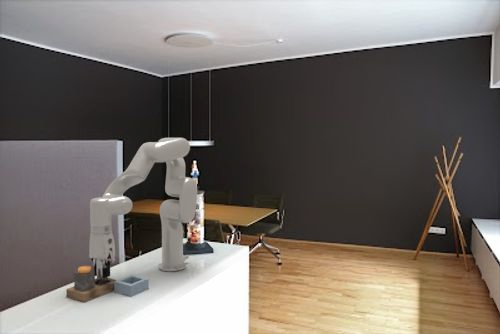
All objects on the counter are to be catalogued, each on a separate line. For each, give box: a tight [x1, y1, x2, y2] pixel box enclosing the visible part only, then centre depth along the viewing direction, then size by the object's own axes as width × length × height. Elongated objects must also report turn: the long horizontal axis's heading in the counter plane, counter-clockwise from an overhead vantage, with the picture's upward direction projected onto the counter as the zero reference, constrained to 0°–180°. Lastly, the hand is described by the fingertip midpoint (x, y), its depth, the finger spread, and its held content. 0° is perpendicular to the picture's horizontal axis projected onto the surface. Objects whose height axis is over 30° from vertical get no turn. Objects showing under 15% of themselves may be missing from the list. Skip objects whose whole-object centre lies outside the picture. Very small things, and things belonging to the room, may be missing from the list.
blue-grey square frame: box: [113, 274, 149, 297], centre depth 149 cm, size 9×9×4 cm
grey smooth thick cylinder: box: [96, 259, 109, 285], centre depth 149 cm, size 4×4×12 cm
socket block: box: [65, 270, 118, 303], centre depth 146 cm, size 16×10×9 cm, turn 150°
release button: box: [77, 265, 92, 274], centre depth 142 cm, size 4×4×8 cm
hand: (102, 275), depth 149 cm, fingers closed on grey smooth thick cylinder, 4 cm apart
